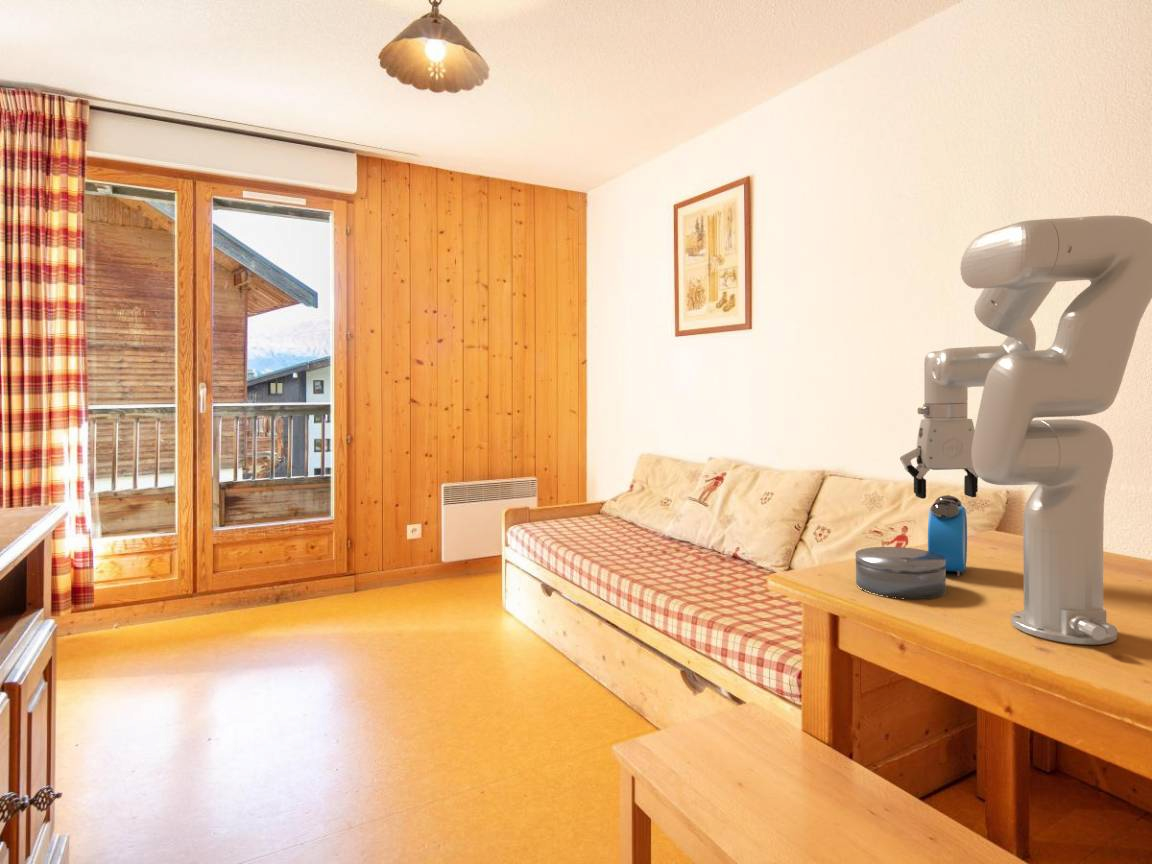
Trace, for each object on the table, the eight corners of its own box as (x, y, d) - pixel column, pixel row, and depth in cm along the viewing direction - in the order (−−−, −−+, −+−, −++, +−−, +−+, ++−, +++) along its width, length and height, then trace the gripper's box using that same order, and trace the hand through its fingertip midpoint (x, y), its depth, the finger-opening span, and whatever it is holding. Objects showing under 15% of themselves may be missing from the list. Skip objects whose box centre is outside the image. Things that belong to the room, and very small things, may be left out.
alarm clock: (963, 580, 123) (962, 503, 123) (926, 576, 127) (925, 501, 126) (967, 565, 134) (966, 493, 133) (933, 562, 138) (933, 492, 137)
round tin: (962, 599, 112) (962, 565, 112) (874, 600, 114) (873, 566, 113) (922, 576, 127) (922, 546, 127) (844, 577, 128) (844, 547, 128)
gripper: (909, 414, 126) (909, 501, 127) (1001, 411, 125) (1000, 499, 126) (893, 413, 133) (893, 494, 135) (980, 410, 132) (979, 492, 133)
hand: (945, 496), depth 130 cm, fingers open, 9 cm apart
